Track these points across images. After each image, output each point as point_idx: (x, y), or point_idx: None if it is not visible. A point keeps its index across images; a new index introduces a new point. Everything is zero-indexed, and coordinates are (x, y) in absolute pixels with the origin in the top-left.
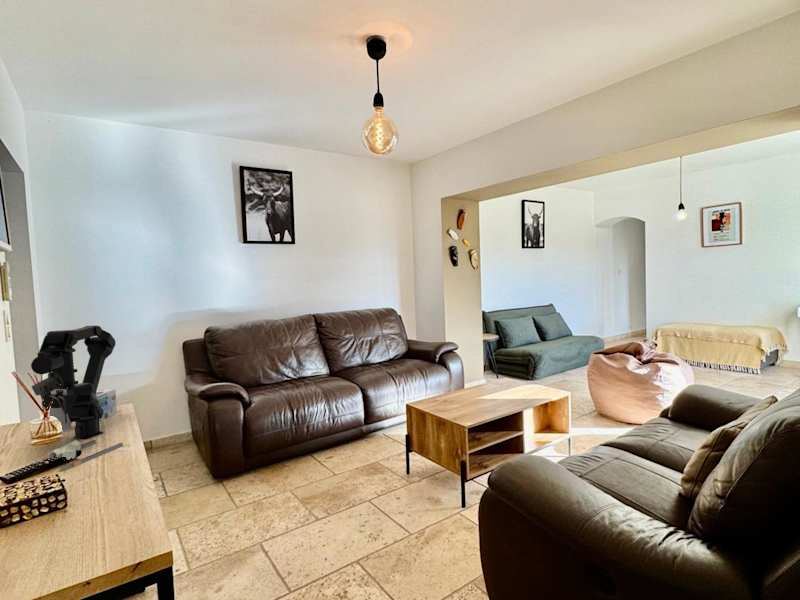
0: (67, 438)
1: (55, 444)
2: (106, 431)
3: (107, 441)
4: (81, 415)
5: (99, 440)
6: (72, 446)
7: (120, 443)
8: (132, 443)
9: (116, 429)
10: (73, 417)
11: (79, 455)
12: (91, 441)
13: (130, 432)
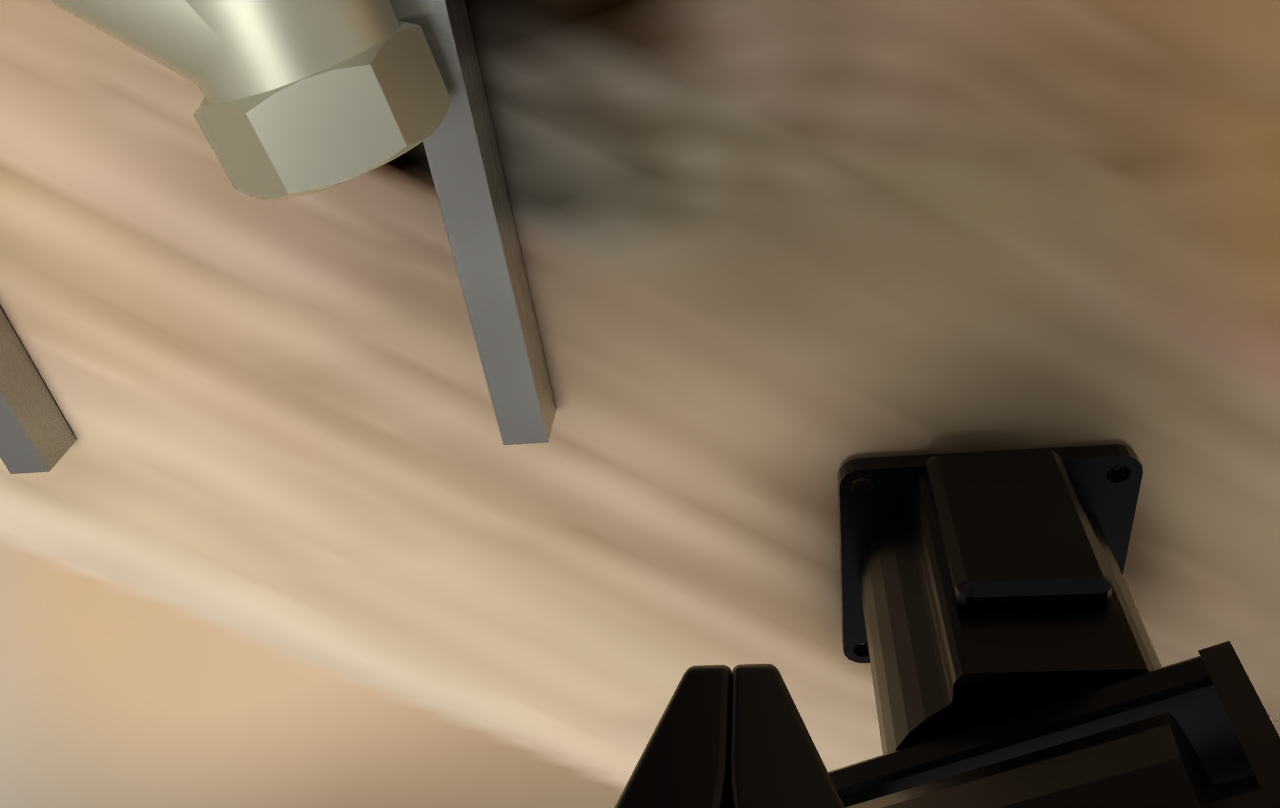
0: (1254, 424)
1: (1218, 214)
2: None
3: (453, 494)
4: (931, 798)
5: (611, 490)
6: (95, 13)
7: (9, 455)
8: (58, 526)
9: None
10: (1121, 728)
11: None
12: (513, 397)
13: (511, 715)
